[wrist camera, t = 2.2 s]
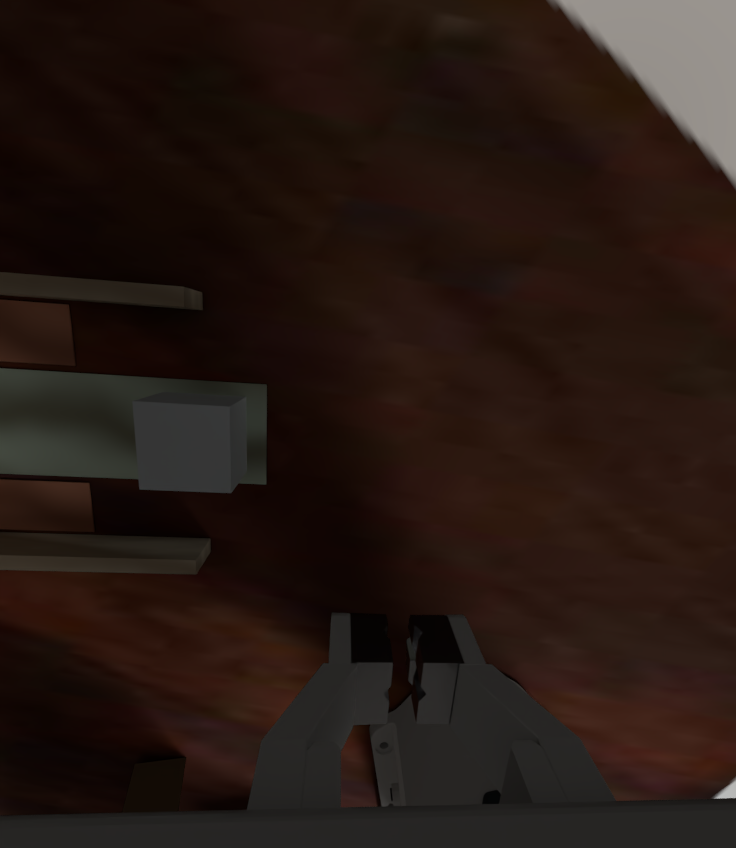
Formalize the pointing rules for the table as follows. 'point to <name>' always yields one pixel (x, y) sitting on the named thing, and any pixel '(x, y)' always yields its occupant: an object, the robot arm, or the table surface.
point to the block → (190, 442)
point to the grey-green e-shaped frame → (87, 432)
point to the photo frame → (155, 786)
